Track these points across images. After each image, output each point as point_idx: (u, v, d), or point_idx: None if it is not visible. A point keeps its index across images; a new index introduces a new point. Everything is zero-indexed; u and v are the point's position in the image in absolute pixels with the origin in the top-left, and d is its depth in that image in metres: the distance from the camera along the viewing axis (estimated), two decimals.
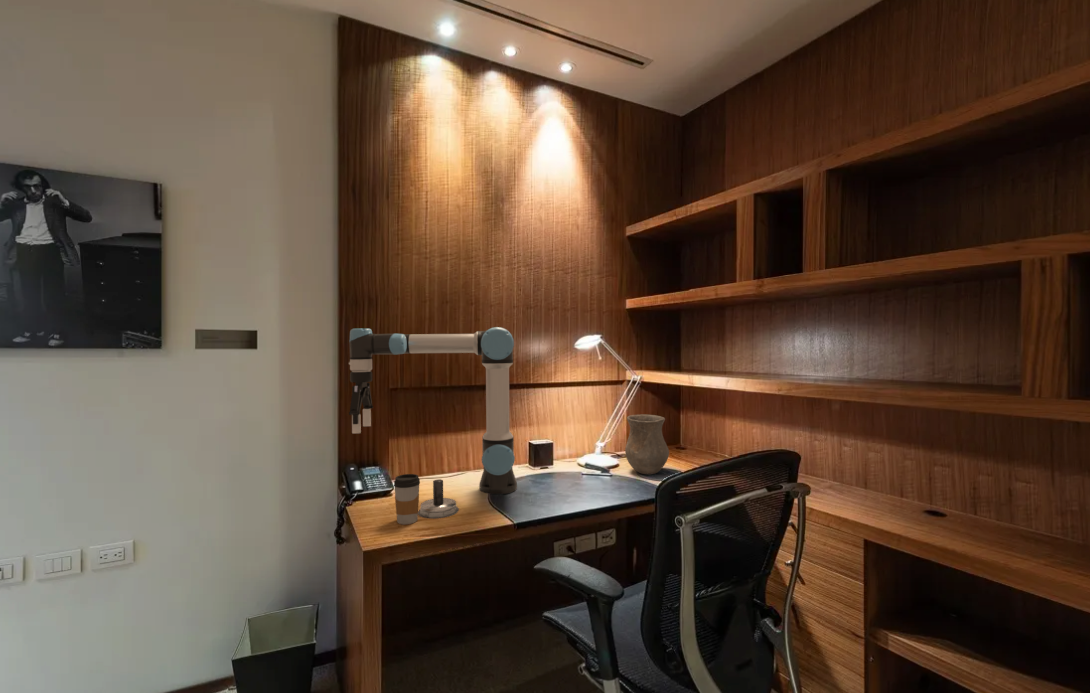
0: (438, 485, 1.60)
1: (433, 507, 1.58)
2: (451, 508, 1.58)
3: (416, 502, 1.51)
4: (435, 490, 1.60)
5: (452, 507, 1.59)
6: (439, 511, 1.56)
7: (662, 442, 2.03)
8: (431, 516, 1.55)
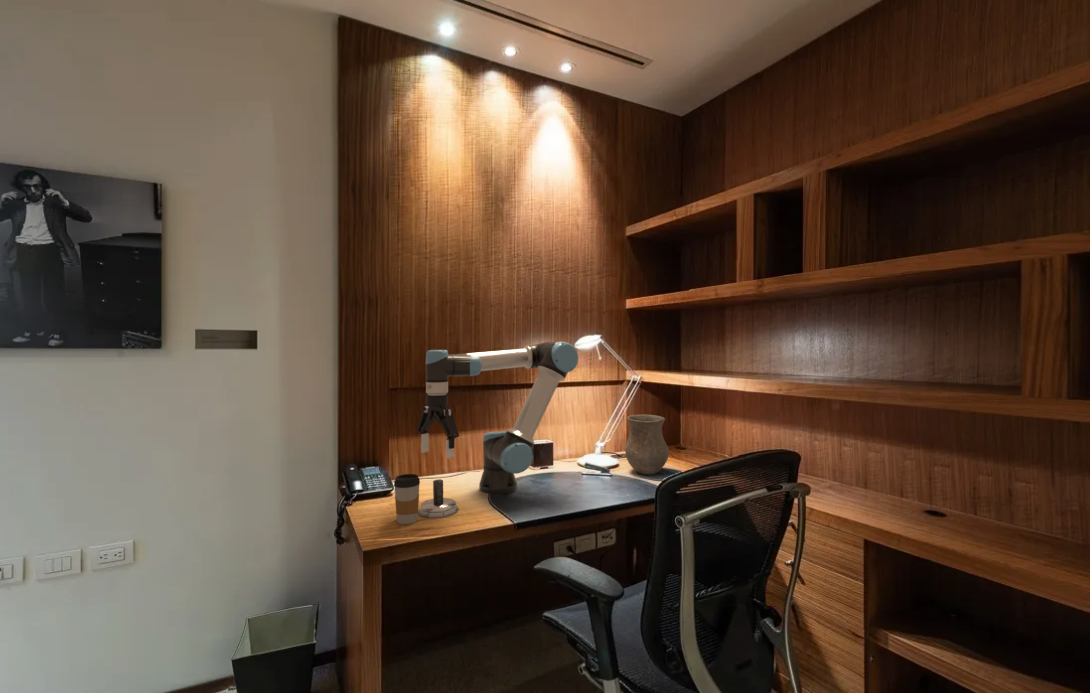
0: (438, 485, 1.60)
1: (433, 507, 1.58)
2: (451, 508, 1.58)
3: (416, 502, 1.51)
4: (435, 490, 1.60)
5: (452, 507, 1.59)
6: (439, 511, 1.56)
7: (662, 442, 2.03)
8: (431, 516, 1.55)
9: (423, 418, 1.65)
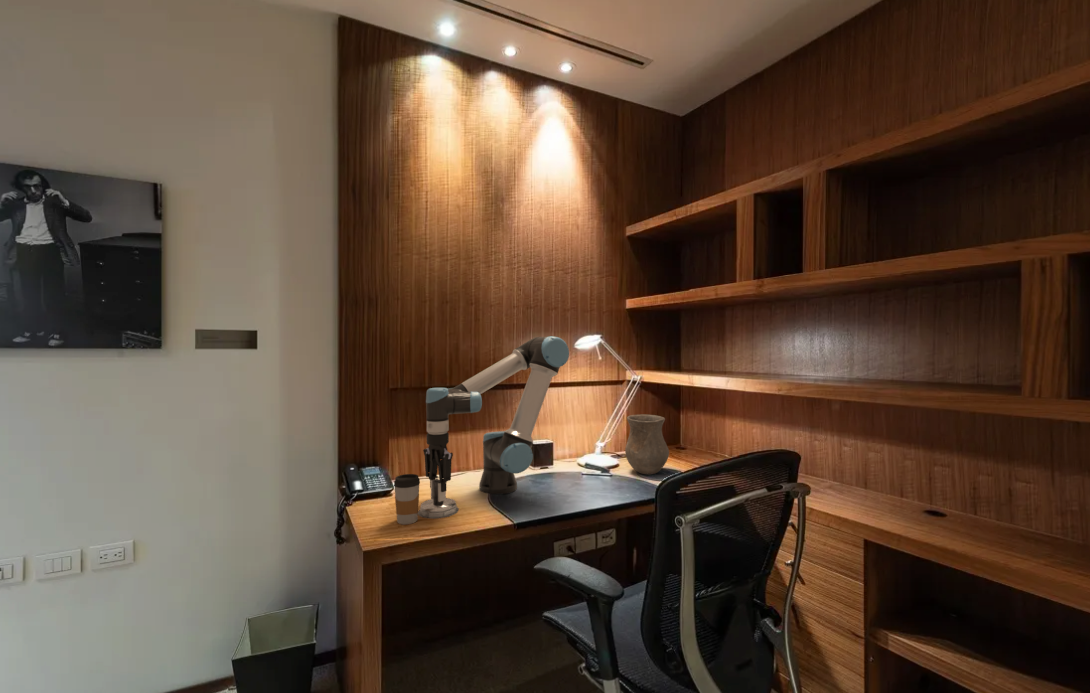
0: None
1: (433, 507, 1.58)
2: (451, 508, 1.58)
3: (416, 502, 1.51)
4: (435, 490, 1.60)
5: (452, 507, 1.59)
6: (439, 511, 1.56)
7: (662, 442, 2.03)
8: (431, 516, 1.55)
9: (428, 460, 1.64)
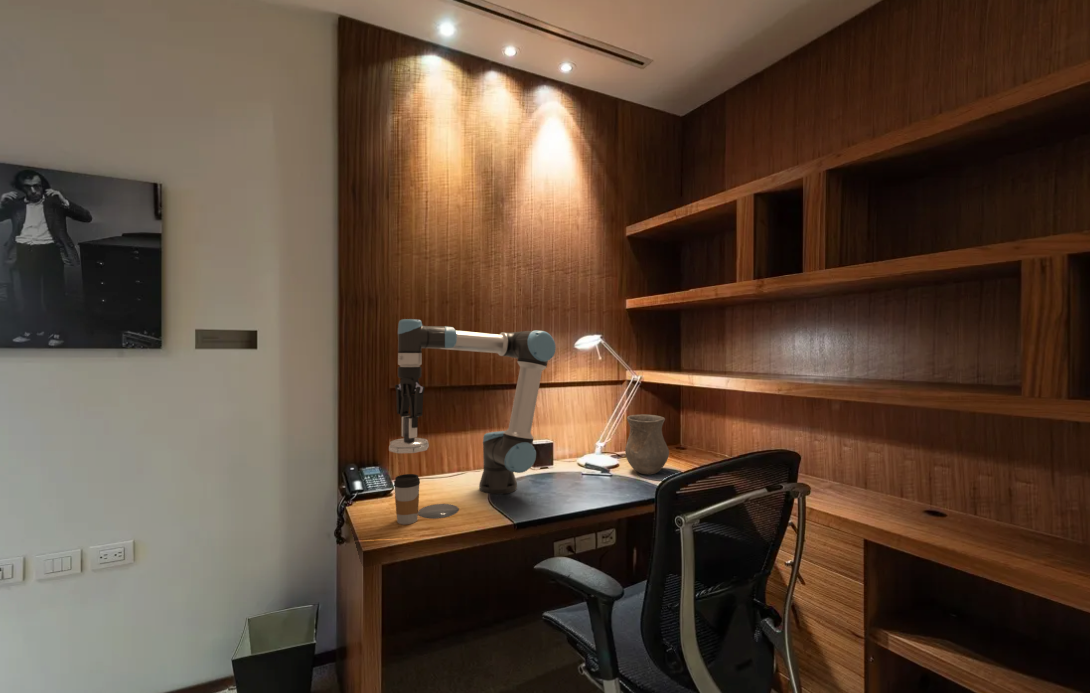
0: None
1: (403, 443, 1.49)
2: (422, 445, 1.50)
3: (416, 502, 1.51)
4: (406, 426, 1.52)
5: (423, 444, 1.51)
6: (409, 447, 1.47)
7: (662, 442, 2.03)
8: (400, 452, 1.47)
9: (399, 396, 1.55)
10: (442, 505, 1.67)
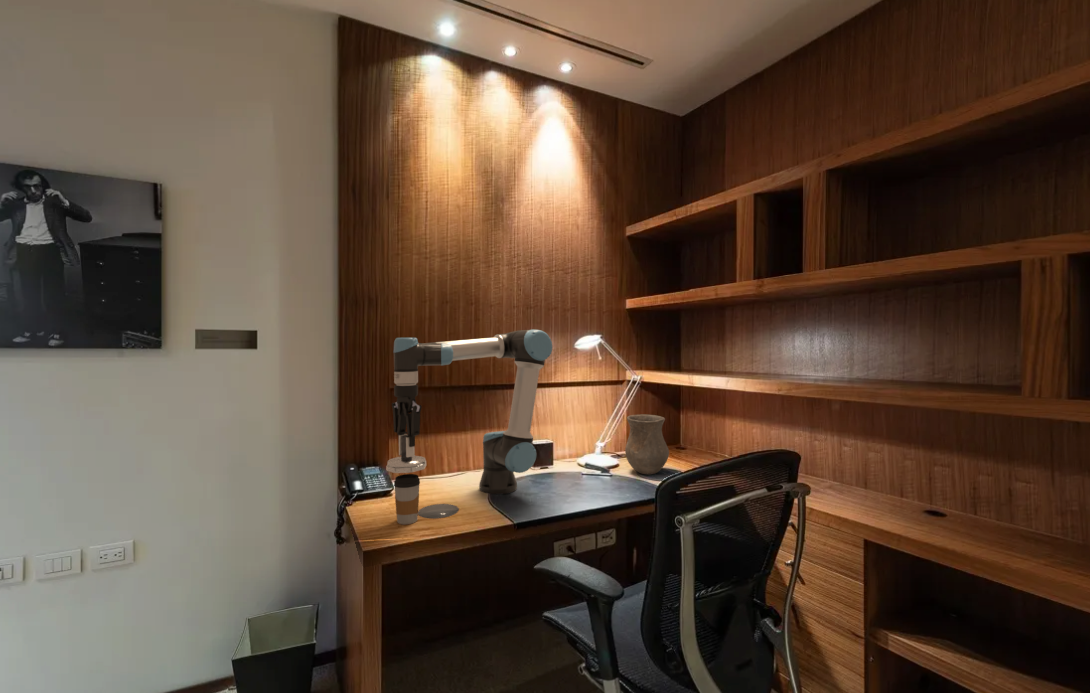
0: None
1: (400, 463, 1.49)
2: (419, 464, 1.49)
3: (416, 502, 1.51)
4: (403, 445, 1.51)
5: (421, 463, 1.50)
6: (406, 466, 1.46)
7: (662, 442, 2.03)
8: (398, 471, 1.46)
9: (396, 415, 1.54)
10: (442, 505, 1.67)
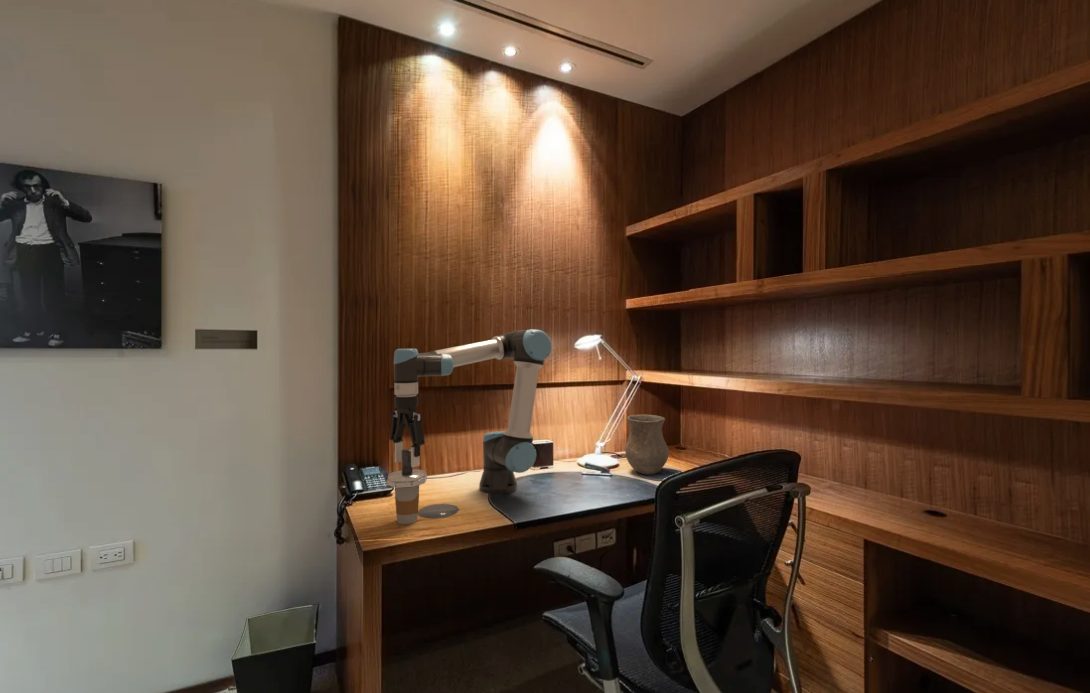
0: (406, 454, 1.51)
1: (401, 477, 1.49)
2: (420, 478, 1.49)
3: (416, 502, 1.51)
4: (403, 459, 1.51)
5: (421, 477, 1.50)
6: (407, 481, 1.47)
7: (662, 442, 2.03)
8: (398, 486, 1.46)
9: (394, 424, 1.55)
10: (442, 505, 1.67)
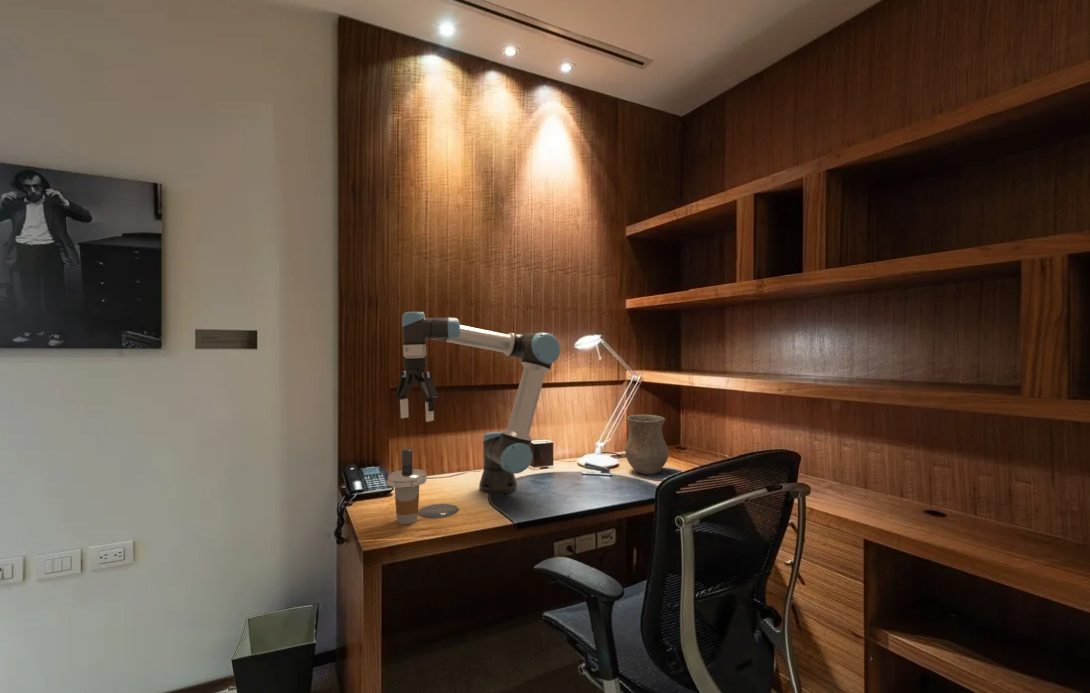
0: (406, 454, 1.51)
1: (401, 477, 1.49)
2: (420, 478, 1.49)
3: (416, 502, 1.51)
4: (403, 459, 1.51)
5: (421, 477, 1.50)
6: (407, 481, 1.47)
7: (662, 442, 2.03)
8: (398, 486, 1.46)
9: (401, 383, 1.61)
10: (442, 505, 1.67)
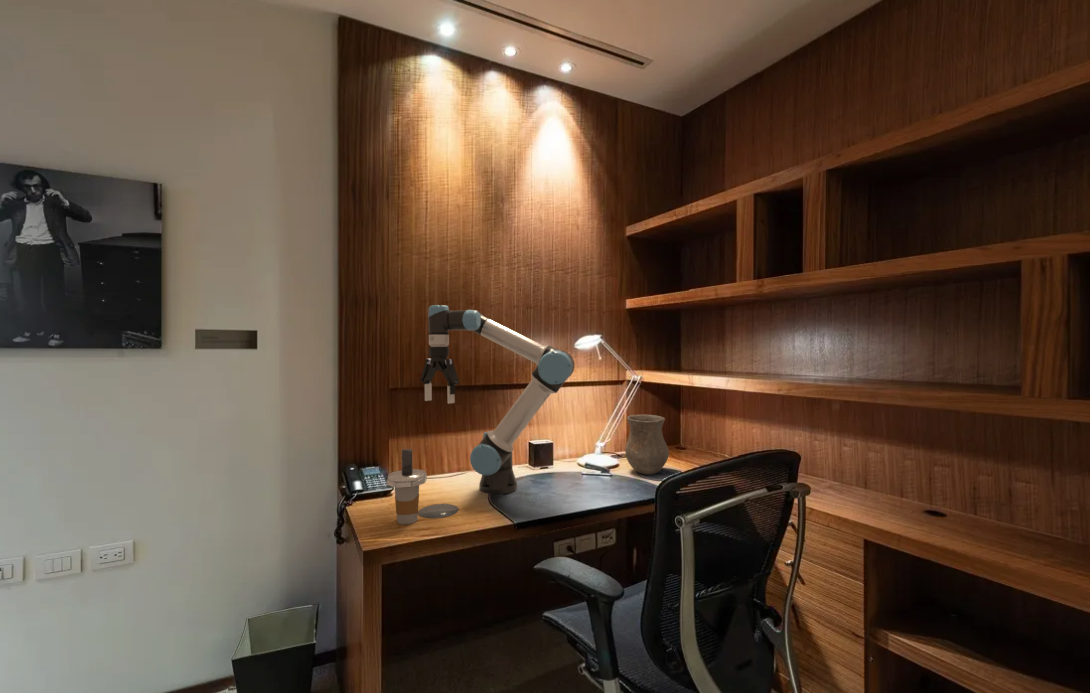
0: (406, 454, 1.51)
1: (401, 477, 1.49)
2: (420, 478, 1.49)
3: (416, 502, 1.51)
4: (403, 459, 1.51)
5: (421, 477, 1.50)
6: (407, 481, 1.47)
7: (662, 442, 2.03)
8: (398, 486, 1.46)
9: (426, 369, 1.79)
10: (442, 505, 1.67)
